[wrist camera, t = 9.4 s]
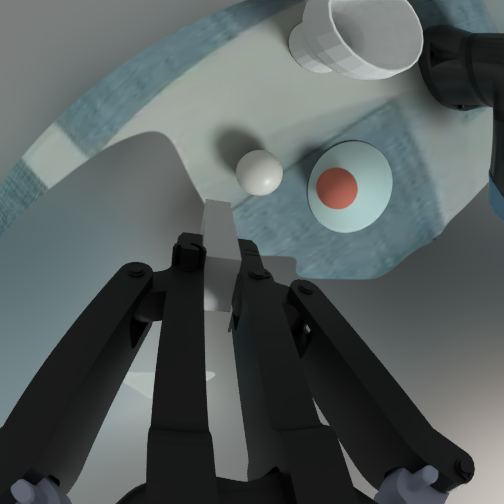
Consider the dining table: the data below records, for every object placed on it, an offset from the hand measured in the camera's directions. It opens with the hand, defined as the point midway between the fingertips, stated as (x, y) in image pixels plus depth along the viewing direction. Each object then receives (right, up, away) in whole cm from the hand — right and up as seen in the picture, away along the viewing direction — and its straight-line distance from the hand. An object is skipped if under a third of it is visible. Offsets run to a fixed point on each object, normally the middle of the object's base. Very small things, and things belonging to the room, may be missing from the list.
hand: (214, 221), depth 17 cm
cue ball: (+3, +8, +16) cm, 18 cm away
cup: (+11, +24, +11) cm, 28 cm away
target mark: (+17, +7, +21) cm, 28 cm away
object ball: (+13, +6, +18) cm, 23 cm away
